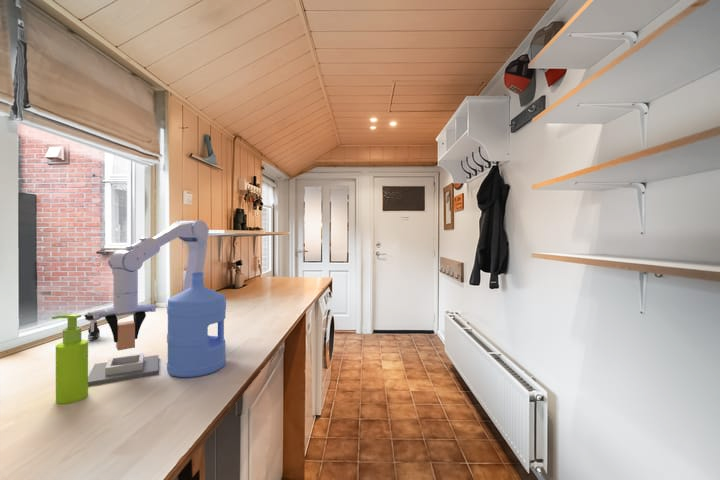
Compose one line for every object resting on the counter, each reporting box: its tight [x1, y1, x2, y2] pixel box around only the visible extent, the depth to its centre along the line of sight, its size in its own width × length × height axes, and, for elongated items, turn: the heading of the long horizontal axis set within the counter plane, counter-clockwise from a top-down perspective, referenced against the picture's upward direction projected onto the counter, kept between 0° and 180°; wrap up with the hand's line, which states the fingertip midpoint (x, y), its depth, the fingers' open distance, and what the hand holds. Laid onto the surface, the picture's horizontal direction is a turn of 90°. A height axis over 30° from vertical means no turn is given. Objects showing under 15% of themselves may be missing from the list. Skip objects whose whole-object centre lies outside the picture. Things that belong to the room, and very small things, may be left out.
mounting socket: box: [88, 353, 159, 387], centre depth 97 cm, size 16×14×3 cm
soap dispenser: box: [51, 313, 89, 405], centre depth 81 cm, size 6×7×20 cm
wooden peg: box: [115, 320, 136, 351], centre depth 98 cm, size 4×4×7 cm
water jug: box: [166, 272, 227, 378], centre depth 100 cm, size 16×16×28 cm
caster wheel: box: [83, 310, 101, 341], centre depth 125 cm, size 7×5×10 cm
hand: (125, 339), depth 97 cm, fingers closed on wooden peg, 4 cm apart
